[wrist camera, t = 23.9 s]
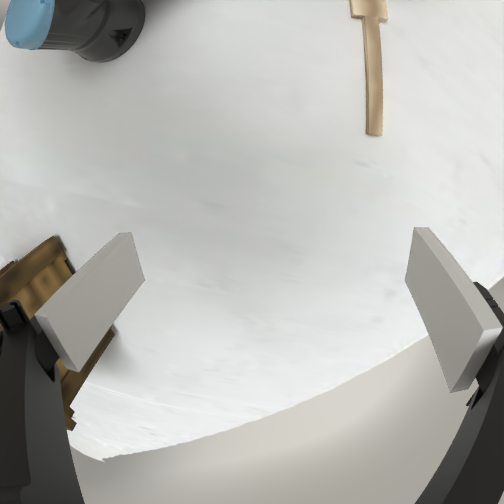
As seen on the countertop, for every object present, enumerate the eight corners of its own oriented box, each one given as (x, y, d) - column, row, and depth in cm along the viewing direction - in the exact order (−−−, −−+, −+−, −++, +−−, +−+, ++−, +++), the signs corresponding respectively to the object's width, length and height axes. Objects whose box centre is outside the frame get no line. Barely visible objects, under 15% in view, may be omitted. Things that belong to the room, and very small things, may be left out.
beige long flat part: (355, 132, 42) (358, 133, 40) (346, -21, 29) (348, -26, 27) (388, 135, 42) (392, 136, 40) (379, -17, 28) (382, -21, 26)
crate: (60, 220, 59) (-40, 298, 30) (129, 334, 73) (72, 431, 44) (6, 255, 69) (-61, 314, 40) (62, 341, 83) (13, 409, 54)
